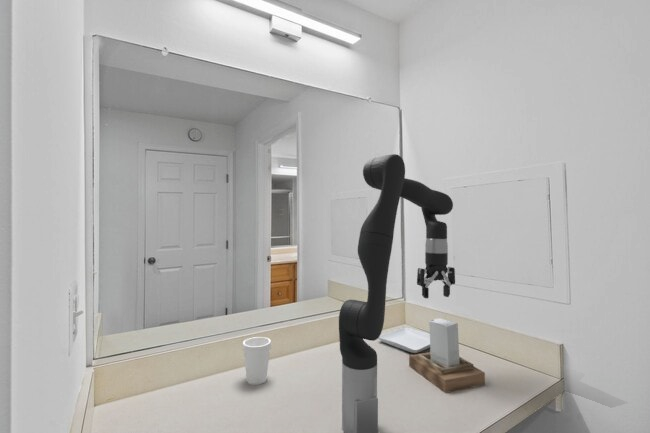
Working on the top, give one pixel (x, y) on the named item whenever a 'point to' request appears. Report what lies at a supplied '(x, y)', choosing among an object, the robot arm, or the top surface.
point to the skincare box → (444, 342)
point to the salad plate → (407, 339)
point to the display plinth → (447, 373)
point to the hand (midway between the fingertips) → (436, 297)
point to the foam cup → (256, 358)
